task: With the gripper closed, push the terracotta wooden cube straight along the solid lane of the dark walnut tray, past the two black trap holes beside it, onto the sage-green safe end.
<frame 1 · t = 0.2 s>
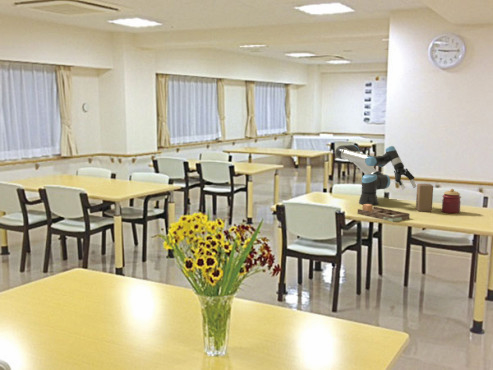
hand: (409, 188, 410), 15 cm above the table, tool tilted 35°, fingers open, 13 cm apart
trap tray: (382, 216, 380), on the table
canister: (450, 212, 397), on the table
block: (423, 210, 402), on the table
terracotta cube: (367, 211, 387), point 2 cm above the table, touching trap tray
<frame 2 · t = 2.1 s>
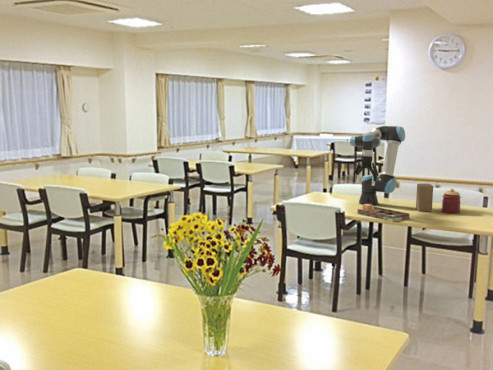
hand: (365, 184, 390), 21 cm above the table, tool pointing down, fingers open, 13 cm apart
nothing on the table moved.
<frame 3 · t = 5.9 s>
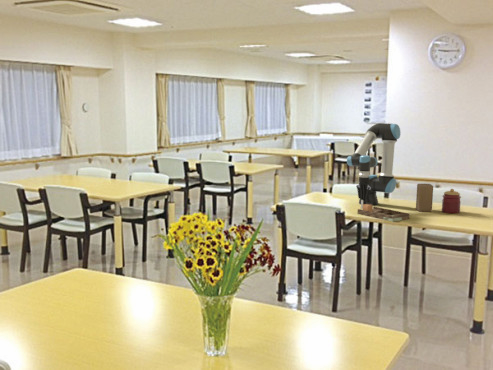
hand: (362, 208, 390), 4 cm above the table, tool pointing down, fingers closed
terracotta cube: (367, 211, 387), point 2 cm above the table, touching gripper, trap tray
everything else where it was.
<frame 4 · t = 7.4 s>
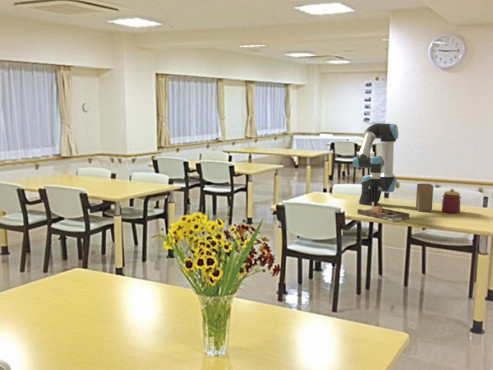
hand: (373, 210, 381), 4 cm above the table, tool pointing down, fingers closed
terracotta cube: (376, 213, 379), point 2 cm above the table, touching gripper
everything else where it was.
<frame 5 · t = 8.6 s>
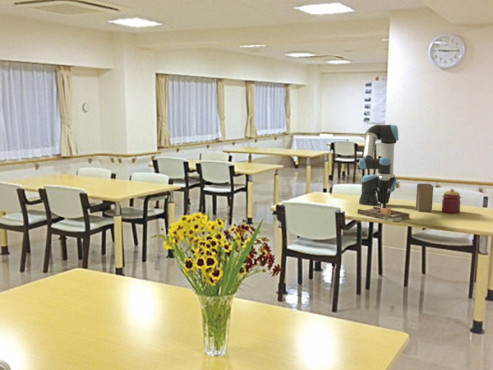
hand: (382, 212, 375), 4 cm above the table, tool pointing down, fingers closed
terracotta cube: (385, 215, 372), point 2 cm above the table, touching gripper
everything else where it was.
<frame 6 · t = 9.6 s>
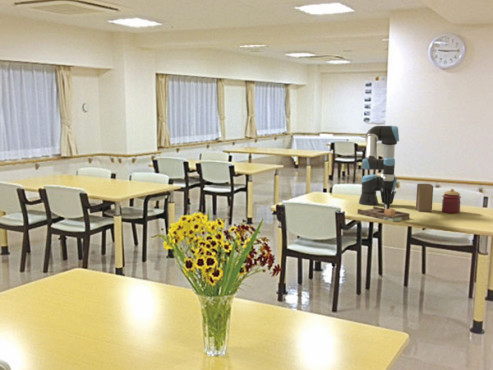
hand: (386, 213, 372), 4 cm above the table, tool pointing down, fingers closed
terracotta cube: (389, 216, 370), point 2 cm above the table, touching gripper, trap tray
everything else where it was.
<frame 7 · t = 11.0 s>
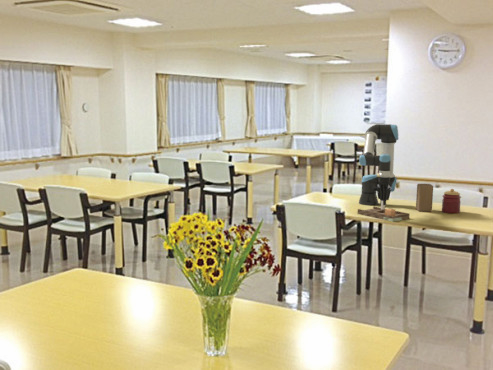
hand: (382, 209, 375), 6 cm above the table, tool pointing down, fingers closed
terracotta cube: (389, 216, 370), point 2 cm above the table, touching trap tray
everything else where it was.
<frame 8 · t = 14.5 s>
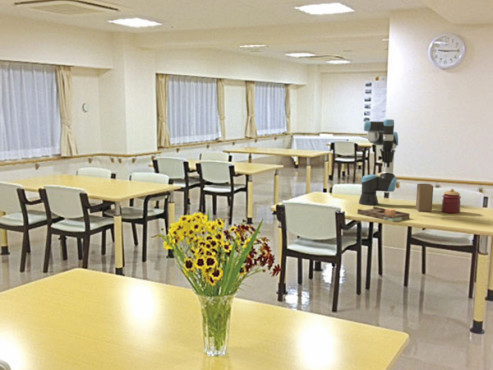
hand: (386, 171, 398), 29 cm above the table, tool pointing down, fingers closed
nothing on the table moved.
at the end: terracotta cube 1.4 cm from the target spot on the trap tray, point 2.0 cm above the trap tray's base; terracotta cube tilted 0° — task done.
